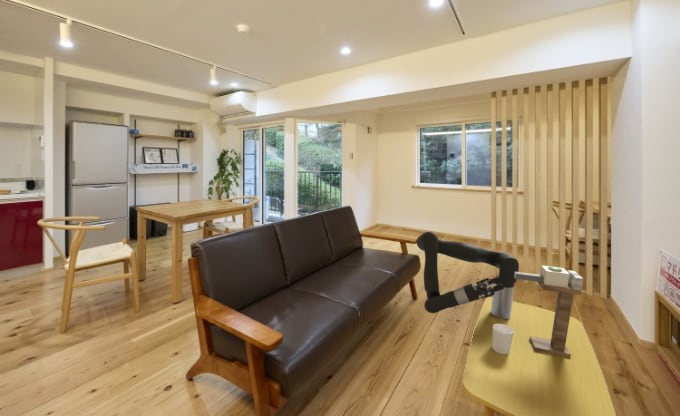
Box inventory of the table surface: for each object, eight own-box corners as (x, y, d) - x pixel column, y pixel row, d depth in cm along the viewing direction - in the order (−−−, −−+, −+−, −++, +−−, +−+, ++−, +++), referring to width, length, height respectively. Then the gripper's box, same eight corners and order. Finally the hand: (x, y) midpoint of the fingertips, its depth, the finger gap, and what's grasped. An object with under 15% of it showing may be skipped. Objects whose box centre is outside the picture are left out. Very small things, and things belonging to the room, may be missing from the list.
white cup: (490, 351, 129) (492, 330, 127) (490, 342, 136) (493, 321, 134) (511, 357, 125) (514, 335, 124) (510, 347, 132) (513, 326, 131)
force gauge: (512, 275, 136) (514, 261, 135) (561, 281, 130) (563, 266, 129) (516, 280, 129) (518, 266, 128) (567, 287, 123) (569, 272, 122)
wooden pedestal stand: (529, 338, 139) (539, 266, 133) (562, 345, 135) (574, 270, 129) (534, 350, 130) (545, 274, 124) (570, 357, 126) (583, 278, 120)
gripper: (463, 293, 134) (500, 281, 128) (461, 281, 147) (495, 269, 141) (471, 308, 134) (508, 296, 128) (468, 295, 147) (502, 283, 141)
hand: (501, 282), depth 135 cm, fingers open, 8 cm apart
